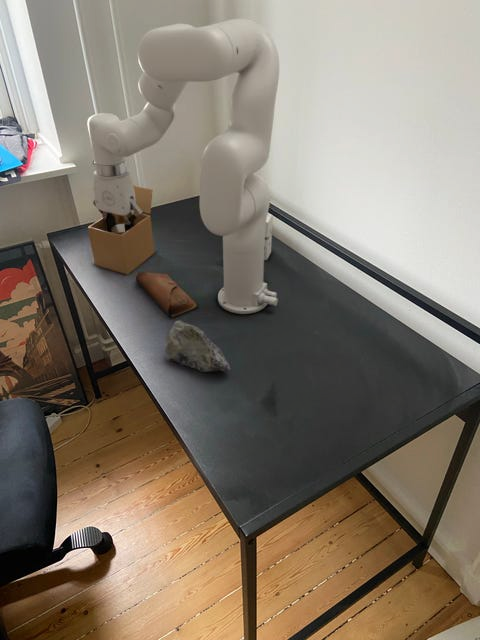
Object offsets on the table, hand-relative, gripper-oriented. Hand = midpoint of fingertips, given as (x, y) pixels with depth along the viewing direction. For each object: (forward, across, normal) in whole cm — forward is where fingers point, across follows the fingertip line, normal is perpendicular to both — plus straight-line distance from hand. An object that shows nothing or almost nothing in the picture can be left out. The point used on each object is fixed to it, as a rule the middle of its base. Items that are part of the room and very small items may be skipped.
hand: (121, 232), depth 139 cm
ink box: (+8, +31, +18) cm, 37 cm away
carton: (+8, 0, 0) cm, 8 cm away
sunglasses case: (+8, +20, -10) cm, 24 cm away
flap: (-7, 0, +7) cm, 10 cm away
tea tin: (+8, 0, 0) cm, 8 cm away
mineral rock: (+8, +40, -29) cm, 50 cm away
